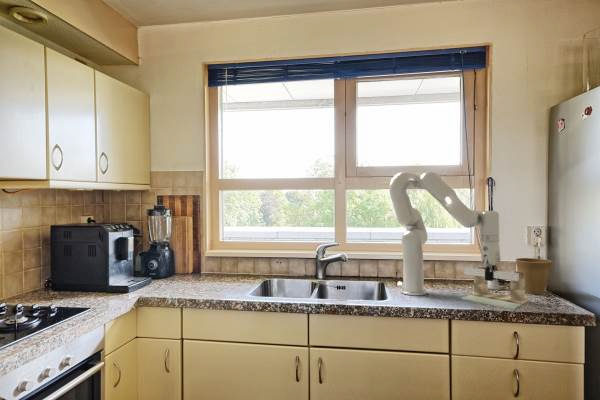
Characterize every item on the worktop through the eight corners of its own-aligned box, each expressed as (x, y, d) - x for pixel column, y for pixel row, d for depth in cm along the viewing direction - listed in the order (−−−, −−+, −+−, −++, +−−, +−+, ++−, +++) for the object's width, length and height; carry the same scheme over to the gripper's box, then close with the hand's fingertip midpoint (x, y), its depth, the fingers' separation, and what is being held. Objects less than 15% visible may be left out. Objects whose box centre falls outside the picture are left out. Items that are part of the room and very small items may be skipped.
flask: (502, 290, 187) (502, 270, 187) (487, 290, 188) (487, 270, 188) (498, 287, 194) (498, 268, 194) (483, 286, 196) (483, 267, 196)
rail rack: (471, 295, 178) (470, 268, 178) (477, 292, 184) (477, 266, 184) (522, 304, 162) (522, 274, 162) (528, 301, 167) (528, 272, 167)
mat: (461, 299, 171) (461, 298, 171) (469, 296, 177) (469, 294, 177) (514, 309, 155) (514, 308, 155) (520, 305, 161) (520, 304, 161)
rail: (464, 274, 173) (464, 268, 173) (467, 273, 175) (467, 267, 175) (516, 280, 157) (516, 274, 157) (519, 279, 159) (518, 273, 159)
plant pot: (559, 294, 178) (559, 261, 178) (537, 297, 173) (536, 263, 172) (530, 287, 192) (530, 256, 192) (509, 290, 186) (508, 258, 186)
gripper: (491, 240, 158) (492, 284, 158) (505, 237, 169) (506, 278, 169) (473, 239, 163) (474, 281, 163) (488, 236, 174) (488, 276, 174)
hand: (490, 279), depth 166 cm, fingers closed on rail, 2 cm apart
